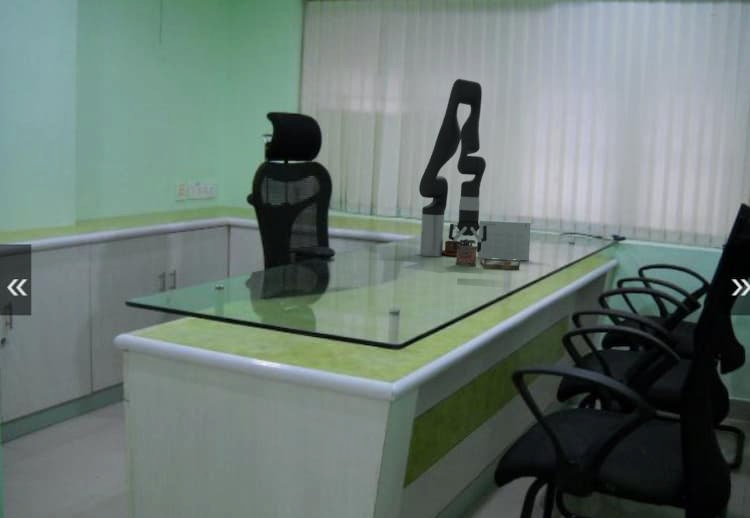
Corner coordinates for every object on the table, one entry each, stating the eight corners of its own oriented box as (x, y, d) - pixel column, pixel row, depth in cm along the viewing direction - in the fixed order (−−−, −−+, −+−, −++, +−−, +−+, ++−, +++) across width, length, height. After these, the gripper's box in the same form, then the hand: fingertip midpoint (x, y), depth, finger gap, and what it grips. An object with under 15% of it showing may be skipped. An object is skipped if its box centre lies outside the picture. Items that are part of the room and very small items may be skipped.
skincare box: (527, 260, 345) (530, 222, 343) (528, 261, 340) (531, 223, 338) (477, 257, 347) (479, 219, 345) (477, 258, 342) (479, 220, 340)
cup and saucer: (469, 258, 342) (470, 243, 342) (441, 257, 341) (442, 242, 341) (464, 255, 354) (465, 241, 354) (436, 254, 353) (437, 240, 352)
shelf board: (484, 268, 307) (485, 258, 307) (480, 263, 324) (480, 254, 323) (519, 269, 307) (520, 260, 307) (513, 264, 324) (513, 255, 323)
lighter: (454, 264, 314) (455, 238, 313) (457, 264, 317) (459, 238, 316) (474, 266, 311) (475, 240, 310) (477, 266, 314) (478, 239, 313)
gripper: (451, 208, 308) (448, 251, 310) (489, 210, 308) (486, 253, 309) (449, 207, 316) (447, 249, 317) (486, 209, 315) (484, 251, 317)
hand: (466, 251), depth 313 cm, fingers open, 8 cm apart
